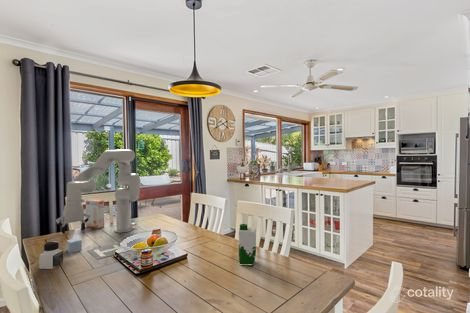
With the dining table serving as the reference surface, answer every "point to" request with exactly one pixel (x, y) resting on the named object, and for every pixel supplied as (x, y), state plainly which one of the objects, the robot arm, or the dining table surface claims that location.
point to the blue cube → (74, 245)
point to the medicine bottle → (51, 256)
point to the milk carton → (247, 244)
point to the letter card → (104, 251)
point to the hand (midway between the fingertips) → (73, 231)
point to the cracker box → (95, 213)
